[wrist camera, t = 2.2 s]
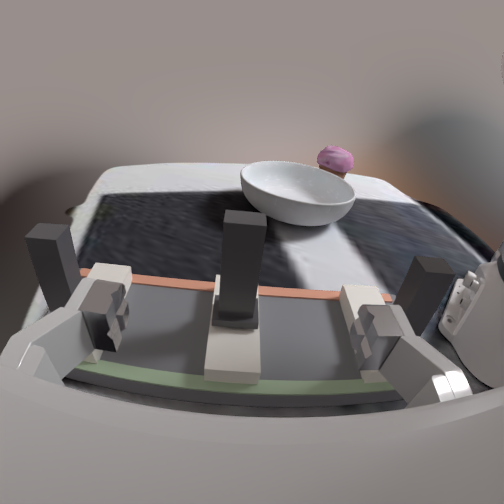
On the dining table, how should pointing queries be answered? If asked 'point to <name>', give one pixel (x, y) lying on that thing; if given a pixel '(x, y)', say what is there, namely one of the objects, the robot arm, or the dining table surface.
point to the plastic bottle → (498, 252)
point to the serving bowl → (296, 192)
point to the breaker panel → (280, 346)
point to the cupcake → (335, 161)
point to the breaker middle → (240, 270)
